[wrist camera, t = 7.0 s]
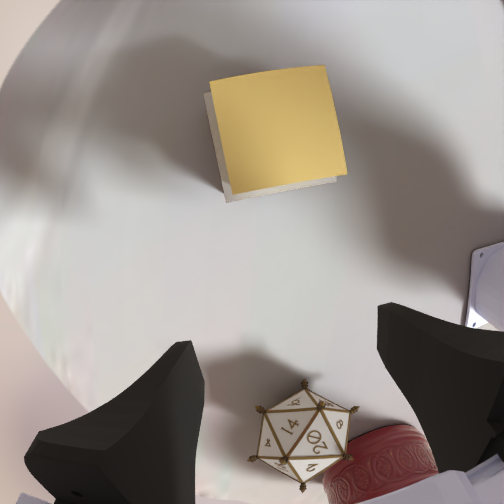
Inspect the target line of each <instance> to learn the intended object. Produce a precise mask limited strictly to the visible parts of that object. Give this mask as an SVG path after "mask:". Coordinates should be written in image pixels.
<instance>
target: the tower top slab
mask: <svg viewBox="0 0 504 504" xmlns="http://www.w3.org/2000/svg"><path fill="white" fill-rule="evenodd" d="M203 95H204V100H205V105H206V110H207V114H208V119H209V124H210V129H211V134H212V138H213V143H214V148H215V153H216V157H217V162H218V167H219V171H220V176H221V181H222V185H223V190H224V195H225V199H226V203H228V202H233V201H238V200H243V199H247V198H252V197H257V196H262V195H267V194H272V193H277V192H283V191H288V190H293V189H299V188H304V187H310V186H315V185H321V184H327V183H333V182H337V178H336V176H333V177H327V178H321V179H315V180H309V181H303V182H298V183H292V184H286V185H281V186H276V187H270V188H265V189H260V190H255V191H250V192H245V193H240V194H235V195H232V190H231V185H230V181H229V176H228V171H227V166H226V161H225V156H224V152H223V147H222V142H221V137H220V132H219V127H218V122H217V118H216V113H215V108H214V103H213V98H212V93H211V92H206V93H203Z"/></svg>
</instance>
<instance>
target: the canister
mask: <svg viewBox="0 0 504 504" xmlns="http://www.w3.org/2000/svg"><path fill="white" fill-rule="evenodd" d="M348 453H349V454H350V455H351V454H352V456H353V459H354V460H350V461H347V460H345V459H344V460H339V461H338V462H336V463H335V464H334V465H332V466H331V467H329V468H328V469H326V470H325V471H323V479H322V482H323V486H324V491H325V493H326V494H327V497H328V501H329V504H356V503H360V502H363V501H367V500H370V499H373V498H376V497H379V496H382V495H385V494H388V493H391V492H394V491H397V490H399V489H402V488H404V487H407V486H410V485H412V484H415V483H417V482H419V481H422V480H424V479H426V478H429V477H431V476H434V475H437V474H439V472H438V468H437V465H436V462H435V460H434V457H433V454H432V451H431V450H430V448H429V443H428V441H427V440H426V438H425V437H424V435H423V434H421V433H420V432H419V431H418V430H417V429H416V428H415V427H413V426H410V425H393V426H387V427H383V428H380V429H376V430H374V431H371V432H368V433H366V434H364V435H362V436H360V437H358V438H356V439H354V440H352V441H350V442H349V443H347V449H346V454H348Z"/></svg>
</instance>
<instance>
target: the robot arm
mask: <svg viewBox="0 0 504 504" xmlns="http://www.w3.org/2000/svg"><path fill="white" fill-rule="evenodd" d="M480 254H481V255H480ZM488 322H489V323H490V324H491V325H493V326H494V327H495V328H497V329H498V330H499V331H491V330H483V329H476V328H477V327H479V326H481V325H483V324H486V323H488ZM377 350H378V352H379V355H380V357H381V359H382V361H383V363H384V365H385V367H386V369H387V371H388V372H389V374H390V375H391V377H392V378H393V380H394V381H395V383H396V384H397V386H398V387H399V389H400V390H401V392H402V393H403V395H404V396H405V398H406V399H407V401H408V402H409V404H410V405H411V407H412V409H413V410H414V412H415V414H416V416H417V418H418V420H419V422H420V425H421V427H422V429H423V431H424V433H425V436H426V438H427V441H428V443H429V446H430V448H431V451H432V454H433V457H434V460H435V462H436V465H437V468H438V472H439V474H437V475H434V476H431V477H429V478H426V479H424V480H422V481H419V482H417V483H415V484H412V485H410V486H407V487H404V488H402V489H399V490H397V491H394V492H391V493H388V494H385V495H382V496H379V497H376V498H373V499H370V500H367V501H363V502H360V503H356V504H504V242H501V243H497V244H494V245H490V246H487V247H484V248H480V249H477V250H474V252H473V253H472V263H471V278H470V290H469V299H468V308H467V316H466V323H465V326H462V325H458V324H454V323H451V322H447V321H444V320H441V319H438V318H435V317H432V316H429V315H427V314H424V313H421V312H419V311H416V310H413V309H411V308H408V307H405V306H402V305H400V304H396V303H393V302H391V303H387V304H383V305H379V306H378V330H377ZM203 407H204V379H203V376H202V373H201V370H200V367H199V363H198V360H197V357H196V354H195V351H194V348H193V345H192V341H191V340H190V341H182V342H176V343H175V344H173V345H172V346H171V347H170V348H169V349H168V350H167V351H166V352H165V353H164V354H163V355H162V356H161V358H160V359H159V360H158V361H157V362H156V363H155V364H154V365H153V366H152V367H151V368H150V369H149V370H148V371H146V372H145V373H144V374H143V375H142V376H141V377H140V378H139V379H138V380H136V381H135V382H134V383H133V384H132V385H131V386H130V387H128V388H127V389H126V390H124V391H123V392H122V393H120V394H119V395H118V396H116V397H115V398H113V399H112V400H110V401H109V402H107V403H105V404H104V405H102V406H100V407H99V408H97V409H95V410H93V411H92V412H90V413H88V414H86V415H84V416H82V417H79V418H77V419H75V420H72V421H70V422H68V423H65V424H62V425H59V426H56V427H53V428H49V429H46V430H43V431H39V432H38V434H37V436H36V437H35V439H34V441H33V442H32V444H31V446H30V448H29V450H28V451H27V453H26V455H25V456H24V461H25V464H26V466H27V468H28V470H29V471H30V472H31V474H32V475H33V476H34V477H35V478H36V479H37V480H38V482H39V483H40V484H42V485H43V487H44V488H45V489H46V490H48V491H49V493H50V494H51V495H53V496H54V497H55V498H56V500H55V502H54V504H195V458H196V449H197V442H198V436H199V431H200V425H201V419H202V413H203ZM16 504H50V503H48V502H47V501H44V500H42V499H39V498H36V497H33V496H31V495H28V494H25V493H21V494H20V497H19V498H18V500H17V502H16Z"/></svg>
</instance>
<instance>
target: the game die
mask: <svg viewBox="0 0 504 504" xmlns="http://www.w3.org/2000/svg"><path fill="white" fill-rule="evenodd" d="M301 384H302V388H303V389H302V390H300V391H299V392H297V393H295V394H294V395H292V396H290V397H289V398H287V399H285V400H283V401H281V402H280V403H278V404H276V405H274V406H273V407H271V408H269V409H267V410H265V409H264V407H262V406H255V408H256V410H257V412H259V413H263V416H262V423H261V430H260V437H259V443H258V450H257V455H256V456H250V458H249V459H248V460H247V461H251V462H253V461H256V460H257V459H260V460H261V461H263V462H265V463H266V464H268V465H270V466H271V467H273V468H275V469H276V470H278V471H280V472H282V473H283V474H285V475H287V476H289V477H291V478H292V479H294V480H296V481H298V482H300V483H301V486H300V490H301V492H302V493H303V492H304V491H305V489H307V488H306V485H305V483H306V482H308V481H309V480H311V479H312V478H314V477H316V476H317V475H319V474H320V473H322V472H323V471H325V470H326V469H328V468H329V467H331V466H332V465H334V464H335V463H336V462H338V461H339V460H344V459H345V460H347V461H350V460H354V459H353V456H352V454H351V455H350V454H349V453H348V454H346V449H347V442H348V434H349V426H350V417H351V413H355V412H357V410H358V408H359V407H360V406H354V407H353V408H351V410H347V409H345V408H343V407H341V406H339V405H337V404H335V403H333V402H331V401H329V400H327V399H325V398H323V397H321V396H319V395H317V394H316V393H314V392H312V391H310V390H308V389H307V386H308V385H307V384H308V382H307V381H306V380H305V379H304V381H303V382H302V383H301Z"/></svg>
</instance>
